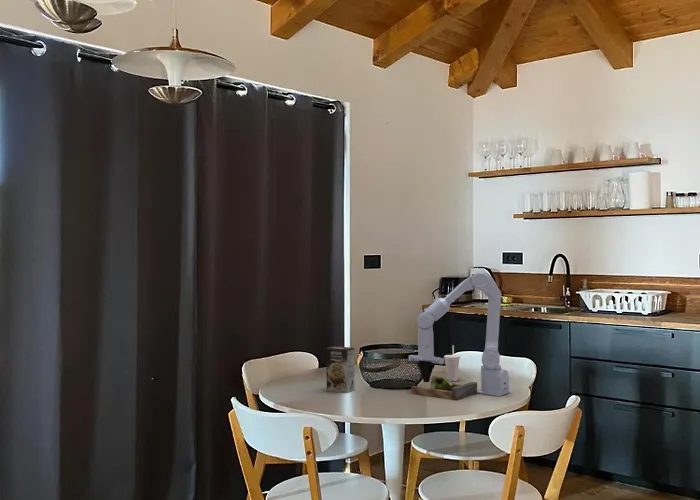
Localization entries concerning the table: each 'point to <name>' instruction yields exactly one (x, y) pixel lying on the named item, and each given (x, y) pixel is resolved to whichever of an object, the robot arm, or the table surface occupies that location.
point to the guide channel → (455, 394)
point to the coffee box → (340, 369)
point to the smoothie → (452, 365)
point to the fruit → (441, 383)
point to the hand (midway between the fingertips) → (426, 381)
